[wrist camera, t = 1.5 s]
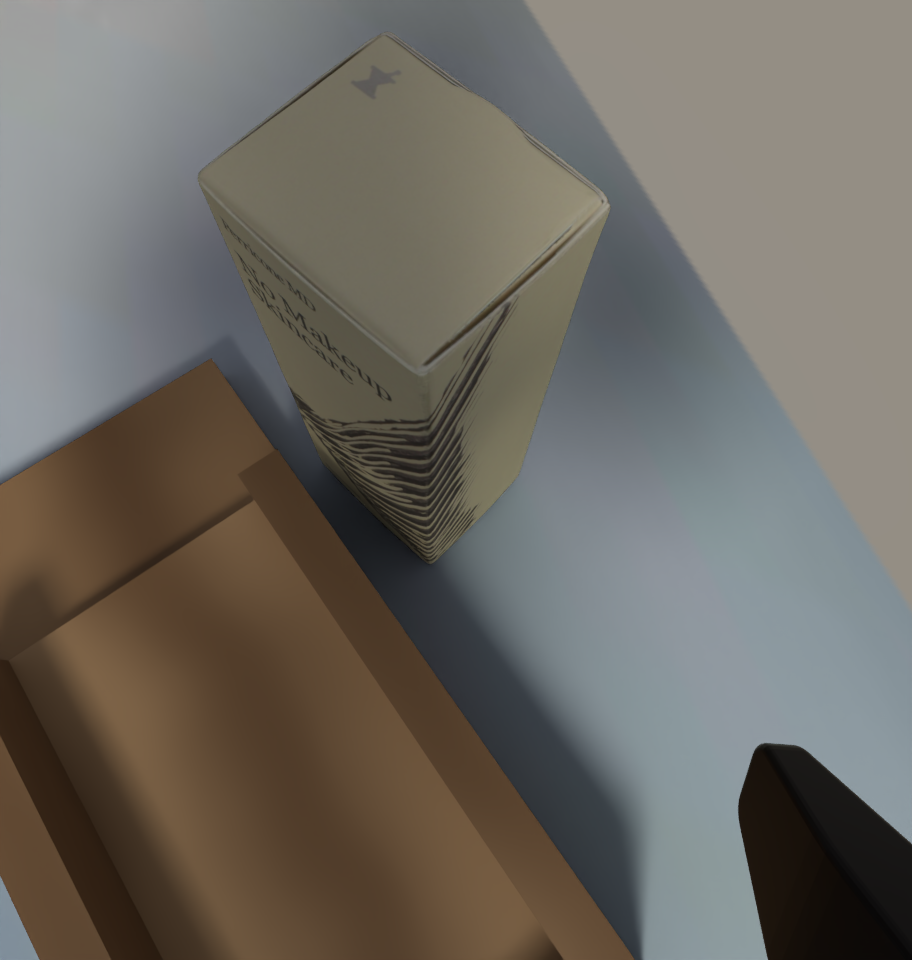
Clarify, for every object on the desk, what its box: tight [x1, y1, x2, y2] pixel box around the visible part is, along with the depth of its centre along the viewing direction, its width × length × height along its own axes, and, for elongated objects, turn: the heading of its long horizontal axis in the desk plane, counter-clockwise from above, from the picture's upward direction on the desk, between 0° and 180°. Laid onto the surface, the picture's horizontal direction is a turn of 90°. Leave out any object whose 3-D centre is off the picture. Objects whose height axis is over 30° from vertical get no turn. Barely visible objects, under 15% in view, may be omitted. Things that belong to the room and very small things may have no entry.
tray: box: [0, 359, 635, 960], centre depth 18 cm, size 10×21×4 cm, turn 36°
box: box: [198, 32, 611, 564], centre depth 17 cm, size 5×4×13 cm
